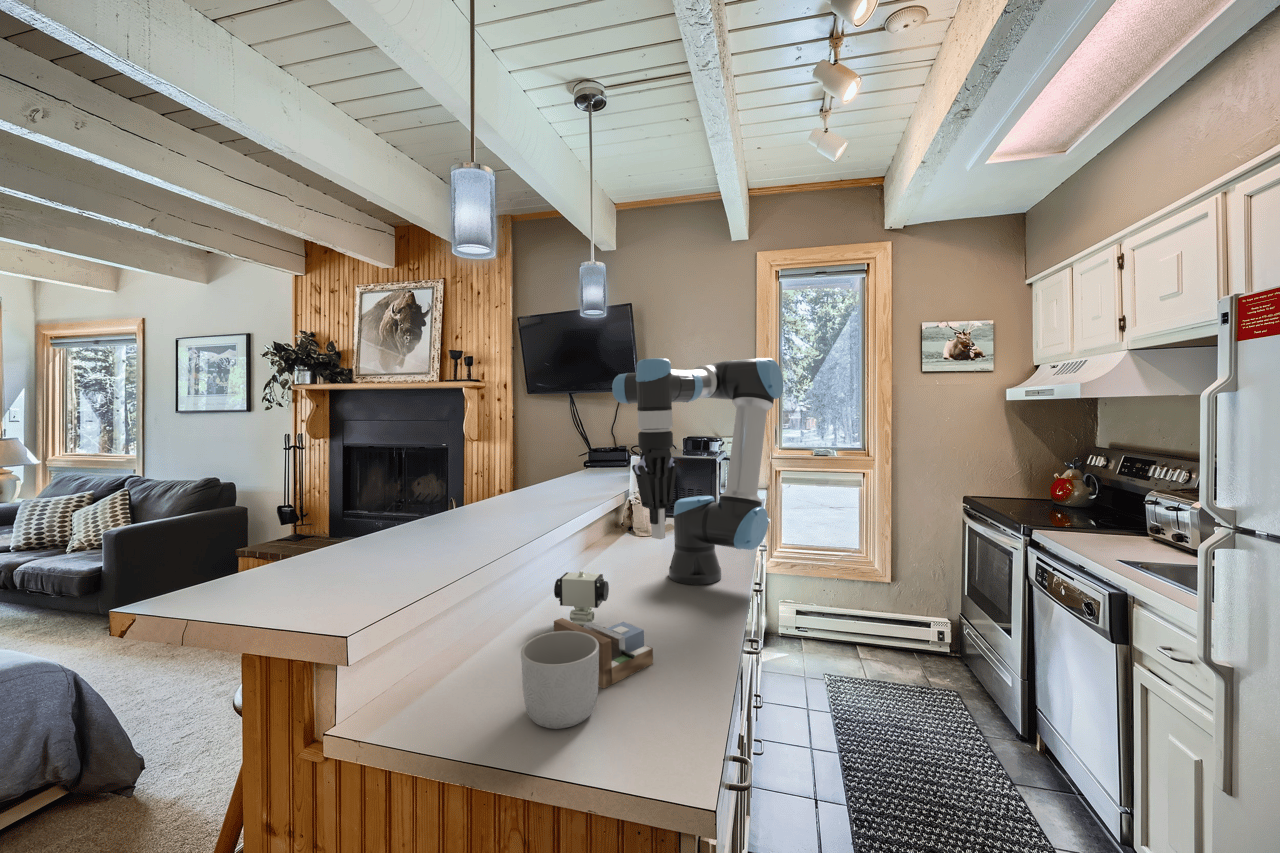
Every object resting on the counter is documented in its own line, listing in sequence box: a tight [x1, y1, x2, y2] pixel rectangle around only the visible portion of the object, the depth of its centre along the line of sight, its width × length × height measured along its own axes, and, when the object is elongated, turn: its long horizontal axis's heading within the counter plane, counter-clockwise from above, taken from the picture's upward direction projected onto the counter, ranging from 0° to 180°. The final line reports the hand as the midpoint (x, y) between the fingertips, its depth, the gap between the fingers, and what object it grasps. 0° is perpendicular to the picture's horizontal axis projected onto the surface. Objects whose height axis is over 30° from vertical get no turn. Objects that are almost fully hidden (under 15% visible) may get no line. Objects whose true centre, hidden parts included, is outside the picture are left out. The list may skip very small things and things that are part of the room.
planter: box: [520, 631, 599, 730], centre depth 84 cm, size 12×12×11 cm
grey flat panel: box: [583, 621, 634, 661], centre depth 100 cm, size 2×13×6 cm, turn 45°
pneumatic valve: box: [553, 570, 610, 627], centre depth 120 cm, size 6×12×12 cm, turn 78°
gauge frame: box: [553, 617, 654, 689], centre depth 101 cm, size 12×15×8 cm
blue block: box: [605, 621, 645, 653], centre depth 104 cm, size 7×6×5 cm
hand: (658, 537), depth 115 cm, fingers closed
